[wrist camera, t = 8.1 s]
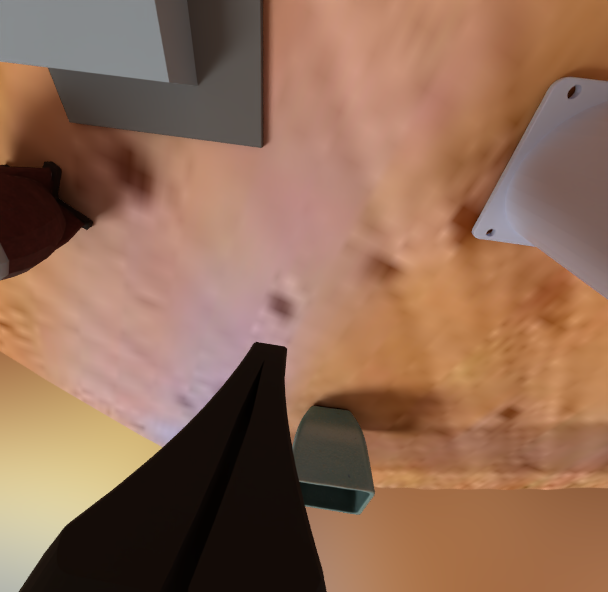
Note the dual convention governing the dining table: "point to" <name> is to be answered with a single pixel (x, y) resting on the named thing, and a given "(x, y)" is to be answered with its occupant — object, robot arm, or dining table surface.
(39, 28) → the slab
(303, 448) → the flower pot
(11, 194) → the mate gourd
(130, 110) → the mat
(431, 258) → the dining table surface
